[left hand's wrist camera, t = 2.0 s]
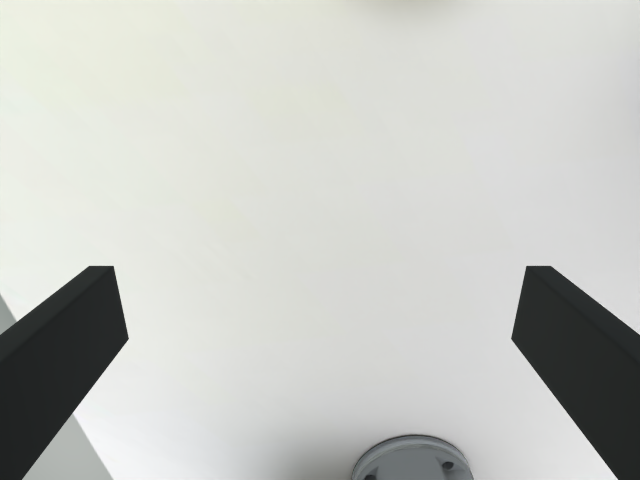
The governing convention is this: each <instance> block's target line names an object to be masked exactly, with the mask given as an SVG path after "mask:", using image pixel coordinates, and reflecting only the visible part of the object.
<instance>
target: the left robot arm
mask: <svg viewBox="0 0 640 480" xmlns="http://www.w3.org/2000/svg"><path fill="white" fill-rule="evenodd" d="M128 339H129V338H128V333H127V328H126V323H125V319H124V314H123V309H122V304H121V299H120V295H119V290H118V285H117V280H116V276H115V271H114V266H89V267H87V268H86V269H85V270H84V271H82V272H81V273H80V274H78V275H77V276H76V277H75V278H73V279H72V280H71V281H69V282H68V283H67V284H65V285H64V286H63V287H62V288H60V289H59V290H58V291H56V292H55V293H54V294H53V295H51V296H50V297H49V298H47V299H46V300H45V301H44V302H42V303H41V304H40V305H38V306H37V307H36V308H34V309H33V310H32V311H31V312H29V313H28V314H27V315H25V316H24V317H23V318H22V319H20V320H19V321H18V322H16V323H15V324H14V325H13V326H11V327H10V328H9V329H7V330H6V331H5V332H3V333H2V334H1V335H0V480H22V479H23V477H24V476H25V475H26V473H27V472H28V471H29V469H30V468H31V467H32V466H33V464H34V463H35V462H36V460H37V459H38V458H39V456H40V455H41V454H42V452H43V451H44V450H45V448H46V447H47V446H48V445H49V443H50V442H51V441H52V439H53V438H54V437H55V435H56V434H57V433H58V431H59V430H60V429H61V427H62V426H63V425H64V423H65V422H66V421H67V420H68V418H69V417H70V416H71V414H72V413H73V412H74V410H75V409H76V408H77V406H78V405H79V404H80V402H81V401H82V400H83V398H84V397H85V396H86V395H87V393H88V392H89V391H90V389H91V388H92V387H93V385H94V384H95V383H96V381H97V380H98V379H99V377H100V376H101V375H102V373H103V372H104V371H105V370H106V368H107V367H108V366H109V364H110V363H111V362H112V360H113V359H114V358H115V356H116V355H117V354H118V352H119V351H120V350H121V349H122V347H123V346H124V345H125V343H126V342H127V341H128ZM511 339H512V341H513V342H514V343H515V345H516V346H517V347H518V349H519V350H520V351H521V352H522V354H523V355H524V356H525V358H526V359H527V360H528V362H529V363H530V364H531V366H532V367H533V368H534V370H535V371H536V372H537V373H538V375H539V376H540V377H541V379H542V380H543V381H544V383H545V384H546V385H547V387H548V388H549V389H550V391H551V392H552V393H553V395H554V396H555V397H556V398H557V400H558V401H559V402H560V404H561V405H562V406H563V408H564V409H565V410H566V412H567V413H568V414H569V416H570V417H571V418H572V420H573V421H574V422H575V423H576V425H577V426H578V427H579V429H580V430H581V431H582V433H583V434H584V435H585V437H586V438H587V439H588V441H589V442H590V443H591V445H592V446H593V447H594V448H595V450H596V451H597V452H598V454H599V455H600V456H601V458H602V459H603V460H604V462H605V463H606V464H607V466H608V467H609V468H610V470H611V471H612V472H613V473H614V475H615V476H616V477H617V479H618V480H640V335H639V334H638V333H637V332H635V331H634V330H633V329H631V328H630V327H629V326H627V325H626V324H625V323H624V322H622V321H621V320H620V319H618V318H617V317H616V316H615V315H613V314H612V313H611V312H609V311H608V310H607V309H606V308H604V307H603V306H602V305H600V304H599V303H598V302H596V301H595V300H594V299H593V298H591V297H590V296H589V295H587V294H586V293H585V292H584V291H582V290H581V289H580V288H578V287H577V286H576V285H575V284H573V283H572V282H571V281H569V280H568V279H567V278H565V277H564V276H563V275H562V274H560V273H559V272H558V271H556V270H555V269H554V268H553V267H551V266H526V271H525V276H524V280H523V285H522V290H521V295H520V299H519V304H518V309H517V314H516V319H515V323H514V328H513V333H512V338H511ZM352 480H474V479H473V476H472V473H471V471H470V468H469V466H468V463H467V461H466V459H465V457H464V456H463V455H462V454H461V452H460V451H459V450H457V449H456V448H455V447H453V446H452V445H450V444H448V443H447V442H444V441H442V440H439V439H436V438H431V437H425V436H406V437H400V438H395V439H391V440H388V441H386V442H383V443H381V444H379V445H377V446H375V447H374V448H372V449H371V450H369V451H368V452H367V453H366V454H364V455H363V456H362V457H361V459H360V460H359V461H358V463H357V464H356V466H355V468H354V471H353V474H352Z"/></svg>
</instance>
